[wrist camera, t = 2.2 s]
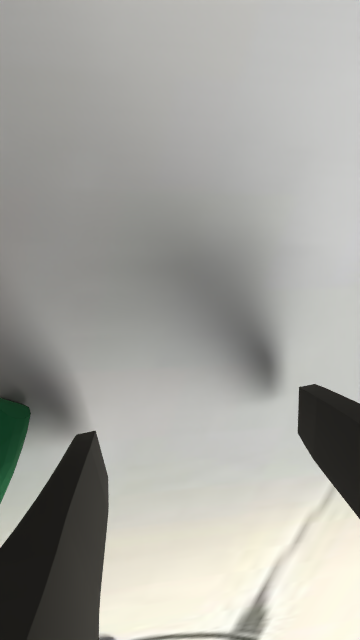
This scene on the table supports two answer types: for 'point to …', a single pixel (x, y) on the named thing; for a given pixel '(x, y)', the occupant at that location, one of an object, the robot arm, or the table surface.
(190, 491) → the table surface
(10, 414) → the green socks
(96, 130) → the table surface
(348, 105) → the table surface
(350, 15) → the table surface
